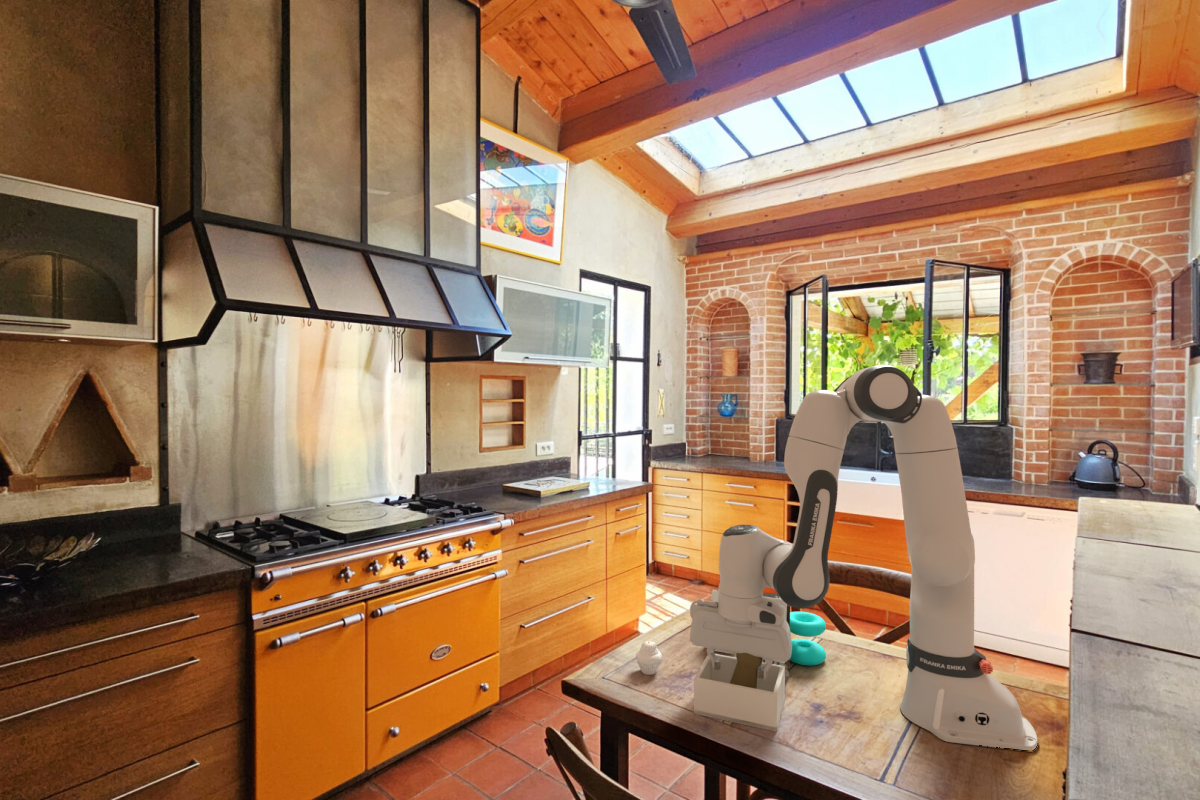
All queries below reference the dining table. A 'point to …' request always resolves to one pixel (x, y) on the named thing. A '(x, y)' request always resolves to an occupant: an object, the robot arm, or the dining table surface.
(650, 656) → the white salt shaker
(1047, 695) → the dining table surface
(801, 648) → the donuts
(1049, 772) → the dining table surface
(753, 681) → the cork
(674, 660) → the dining table surface
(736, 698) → the base
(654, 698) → the dining table surface
